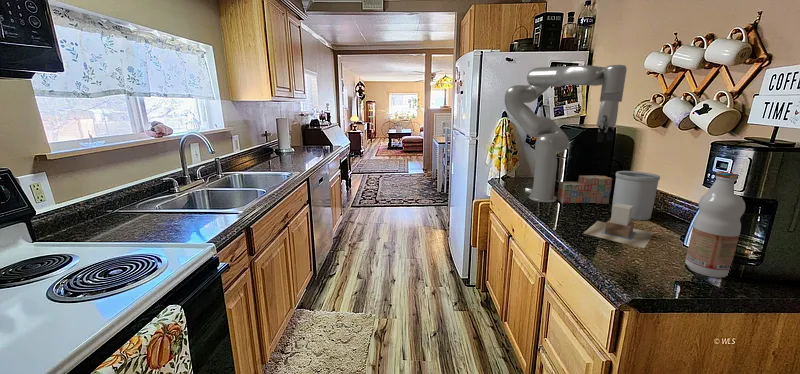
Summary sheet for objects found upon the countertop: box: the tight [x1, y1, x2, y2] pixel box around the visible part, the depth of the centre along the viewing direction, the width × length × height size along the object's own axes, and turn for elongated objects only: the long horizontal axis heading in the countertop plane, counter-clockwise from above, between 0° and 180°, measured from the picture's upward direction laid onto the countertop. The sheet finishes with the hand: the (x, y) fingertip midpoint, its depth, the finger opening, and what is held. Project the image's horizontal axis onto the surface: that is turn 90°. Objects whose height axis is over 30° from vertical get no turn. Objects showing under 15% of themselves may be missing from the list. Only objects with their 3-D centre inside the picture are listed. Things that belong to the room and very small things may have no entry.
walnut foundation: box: [605, 218, 635, 238], centre depth 119 cm, size 7×7×4 cm
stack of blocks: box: [556, 174, 613, 205], centre depth 159 cm, size 21×6×12 cm, turn 89°
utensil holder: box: [611, 170, 661, 221], centre depth 140 cm, size 15×15×18 cm
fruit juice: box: [684, 170, 746, 278], centre depth 92 cm, size 9×9×28 cm
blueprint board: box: [583, 220, 655, 249], centre depth 120 cm, size 18×18×1 cm
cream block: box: [610, 203, 633, 226], centre depth 118 cm, size 5×5×6 cm
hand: (604, 141), depth 139 cm, fingers open, 9 cm apart
